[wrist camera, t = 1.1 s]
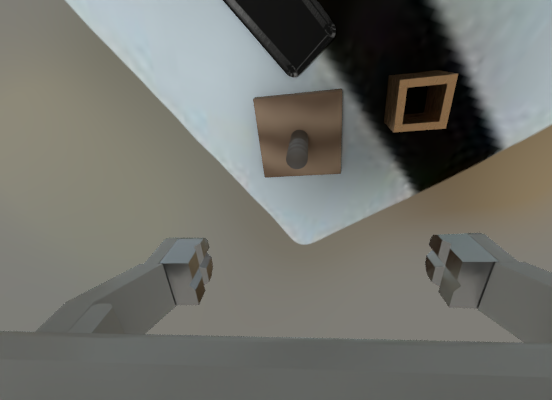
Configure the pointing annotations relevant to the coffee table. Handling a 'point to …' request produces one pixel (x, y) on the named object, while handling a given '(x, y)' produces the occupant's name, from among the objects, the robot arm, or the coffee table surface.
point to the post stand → (300, 133)
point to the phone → (287, 29)
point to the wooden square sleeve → (435, 106)
